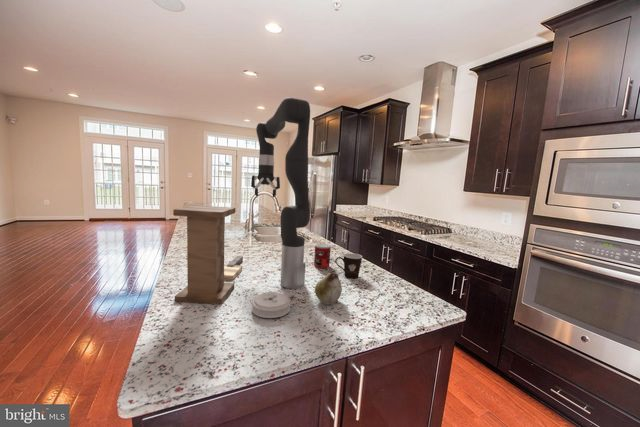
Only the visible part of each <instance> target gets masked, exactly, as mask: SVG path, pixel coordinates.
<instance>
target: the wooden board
mask: <svg viewBox="0 0 640 427" xmlns="http://www.w3.org/2000/svg"><path fill="white" fill-rule="evenodd" d="M243 256H244V255H236V256H235V257H234V258H233V259H231V261H230V262H228V264H224V281H226V280H227V281H234V279H236V277H237V276H238V275H239V274H240V273H241V272H242V271H243V265H241V263H243V259H244V258H243Z"/></svg>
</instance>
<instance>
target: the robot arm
mask: <svg viewBox="0 0 640 427" xmlns="http://www.w3.org/2000/svg"><path fill="white" fill-rule="evenodd" d="M286 122H287V123H290V124H296V125H297V134H296V136H295V139H294V140H293V143H292V144H291V145H290V147H289V149H288V150H287V151H286V155H285V160H284V162H285V165H284V167H285V168H284V169H285V170H284V171H285V177H286V178H287V180H288V182H289V185H290V186H291V188H292V190H293V194H294V199H295V200H294V203H295V204H294V205H288V206H285V207H283V208H282V210H281V212H280V238H281V257H280V258H281V261H280V262H281V264H280V265H281V266H280V286H281V287H283V288H287V289H294V290H297V289H299V288H301V287H303V286H304V285H305V284H306V283H305V280H306V262H304V261H305V260H304V259H305V242H306V241H305V238H304V237H303V236H301V235H298V233H297V229H299V228H305V227H307V226H308V224H309V222H310V219H311V211H310V209H311V207H310V198H309V135H310V134H309V132H310V123H311V106H310V103H309V101H307V100H305V99H300V98H295V97H289V96H288V97H285V98H284V99H283V100H282V101H281V103H280V104H279V106H278V107H277V109H276V111H275V113H274V114H273V115H272V116H271V117H270V118H269V119H268V120H267V121H266V122H259V123H258V124H257V125H256V128H255V130H256V136H257V140H258V146H259V152H258V153H259V155H258V156H259V157H258V173H257V175H251V183H250V187H251V188H253V189H254V195H255V197H259V188H260V186H261V185H266V186H269V185H270V187H271V188H272V198H275V197H276V196H277V190H278V189H281V180H280V179H281V177H280V176H274V174H275V173H274V172H275V169H274V168H275V157H274V156H275V155H274V152H275V150H274V149H275V145H274V144H273V143H271V142H268V141H267V139H270V140H273V139H277V137H278V134H279V133H280V132H282V130H284V129H285V127H286ZM256 180H258V182H257V183H256ZM273 181H275V182H276V184H274V182H273Z"/></svg>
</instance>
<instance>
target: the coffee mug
mask: <svg viewBox="0 0 640 427" xmlns="http://www.w3.org/2000/svg"><path fill="white" fill-rule="evenodd" d="M339 259H340V260H342V262H343V266H341V265H340V264H338V262H337V260H339ZM362 260H363V255H361V254H358V253H355V252H354V253H352V252H348V253H345V254H343V257H341V256H338V257H336V258H335V262H334V263H335V264H336V265H337V267H338V268H340V269H341V270H343V271H344V277H345V278H346V279H349V280H350V279H351V280H355V279H358V278H359V274H360V269H361V266H362Z"/></svg>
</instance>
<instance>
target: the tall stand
mask: <svg viewBox="0 0 640 427" xmlns="http://www.w3.org/2000/svg"><path fill="white" fill-rule="evenodd" d="M172 214H173V216H174V217H179V216H180V217H186V242H187V243H186V247H187V248H186V249H187V250H186V252H187V253H186V255H187V256H186V257H187V258H186V259H187V260H186V261H187V264H186V265H187V274H186V275H187V278H186V279H187V286H185V287H184V288H183V289H182V290H181V291H179V293H177V294H176V295H174V302H175V303H188V304H204V305H205V304H206V305H207V304H209V305H222V304H223V303H224V302H225V300H226V299H227V297H229V295H230V294H231V293H232V291H233V290H234V289H235V283H234V282H225V280H224V265H225V229H226V228H225V221H226V220H225V218H226V217H228V216H231V215H234V214H236V207H228V206H213V205H212V206H209V205H188V206H184V207H180V208H175V209H173V210H172ZM223 301H224V302H223Z"/></svg>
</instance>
